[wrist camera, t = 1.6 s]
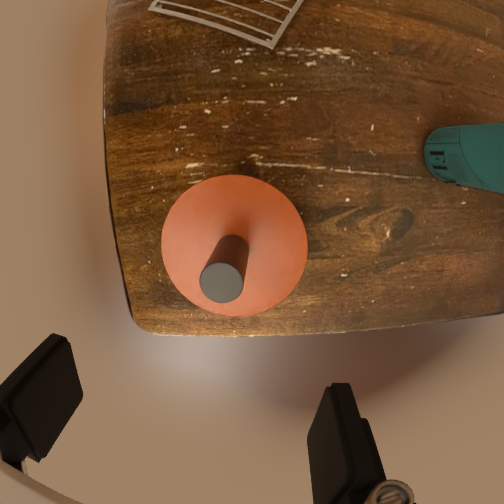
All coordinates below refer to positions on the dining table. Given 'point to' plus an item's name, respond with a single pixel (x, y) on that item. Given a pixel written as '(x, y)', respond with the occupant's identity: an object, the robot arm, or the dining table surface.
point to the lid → (234, 245)
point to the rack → (267, 45)
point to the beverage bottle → (468, 155)
